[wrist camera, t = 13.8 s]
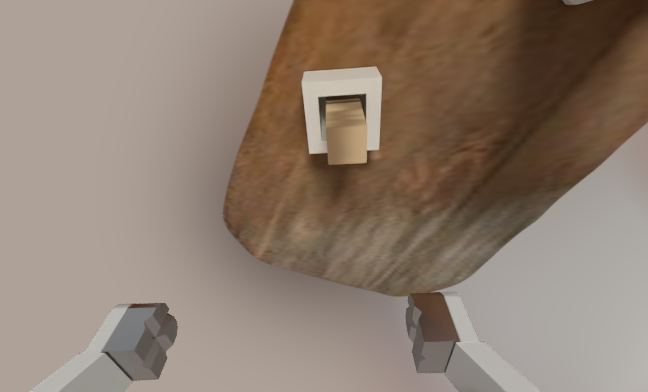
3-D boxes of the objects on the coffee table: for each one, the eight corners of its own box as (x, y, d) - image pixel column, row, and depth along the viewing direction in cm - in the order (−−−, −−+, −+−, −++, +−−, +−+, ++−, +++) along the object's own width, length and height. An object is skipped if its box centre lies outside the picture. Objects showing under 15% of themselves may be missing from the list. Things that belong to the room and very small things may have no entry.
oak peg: (357, 89, 39) (367, 126, 29) (357, 119, 41) (366, 163, 32) (325, 91, 39) (325, 128, 29) (327, 121, 42) (328, 165, 32)
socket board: (376, 66, 38) (381, 77, 34) (373, 133, 43) (378, 149, 39) (304, 71, 38) (301, 82, 34) (311, 137, 43) (309, 153, 39)
